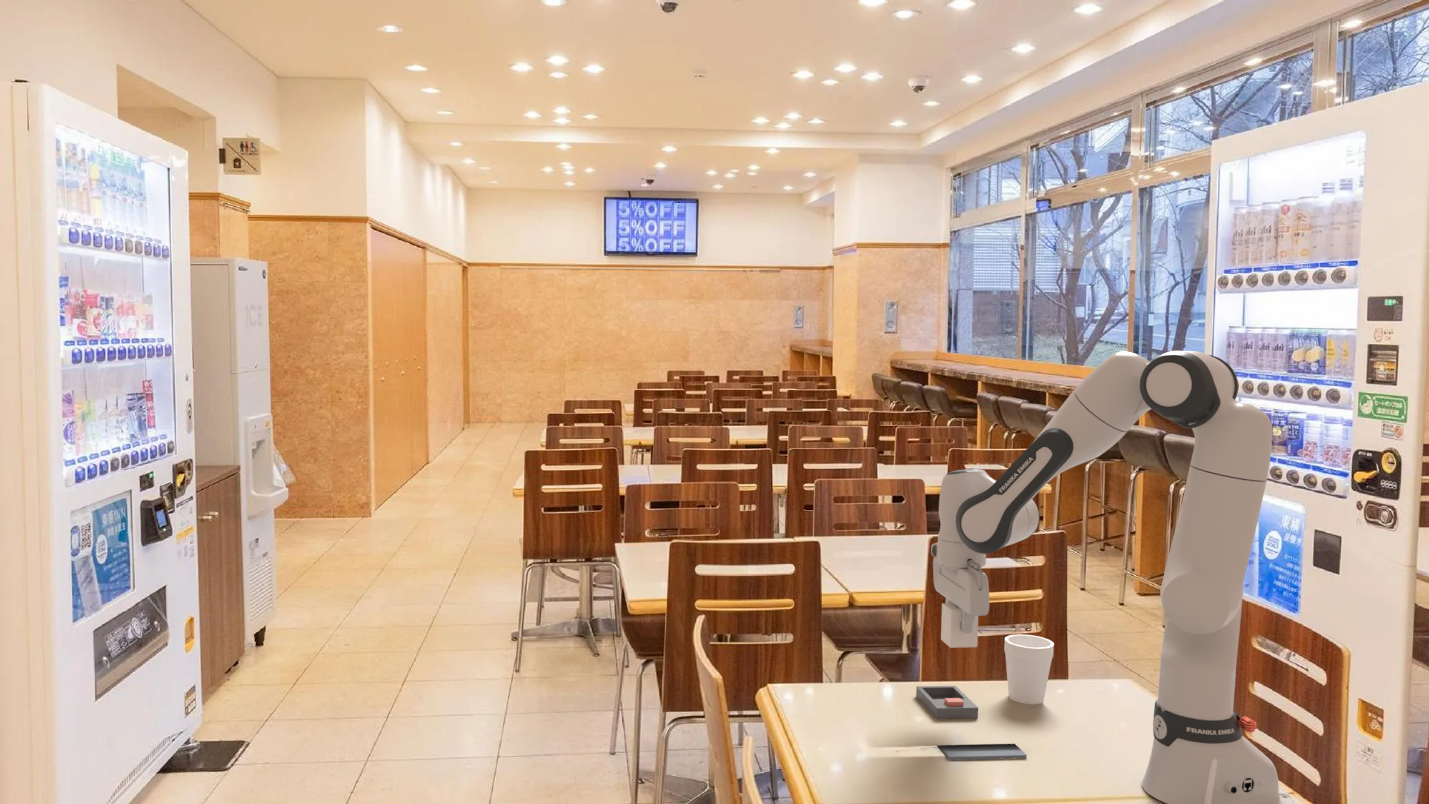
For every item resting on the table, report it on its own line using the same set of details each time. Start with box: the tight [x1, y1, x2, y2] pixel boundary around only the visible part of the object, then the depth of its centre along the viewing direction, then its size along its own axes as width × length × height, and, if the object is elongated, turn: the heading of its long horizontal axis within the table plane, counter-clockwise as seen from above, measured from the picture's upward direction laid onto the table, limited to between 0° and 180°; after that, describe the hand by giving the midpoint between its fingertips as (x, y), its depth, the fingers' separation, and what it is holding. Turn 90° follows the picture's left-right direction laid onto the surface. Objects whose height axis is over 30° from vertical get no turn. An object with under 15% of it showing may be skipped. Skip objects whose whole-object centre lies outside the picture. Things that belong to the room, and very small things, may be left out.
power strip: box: [915, 685, 979, 720], centre depth 200 cm, size 8×12×4 cm, turn 7°
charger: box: [940, 602, 979, 649], centre depth 195 cm, size 5×5×7 cm
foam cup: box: [1003, 634, 1055, 705], centre depth 206 cm, size 10×9×13 cm
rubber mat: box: [935, 743, 1028, 761], centre depth 185 cm, size 14×12×1 cm
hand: (959, 627), depth 195 cm, fingers closed on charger, 5 cm apart
